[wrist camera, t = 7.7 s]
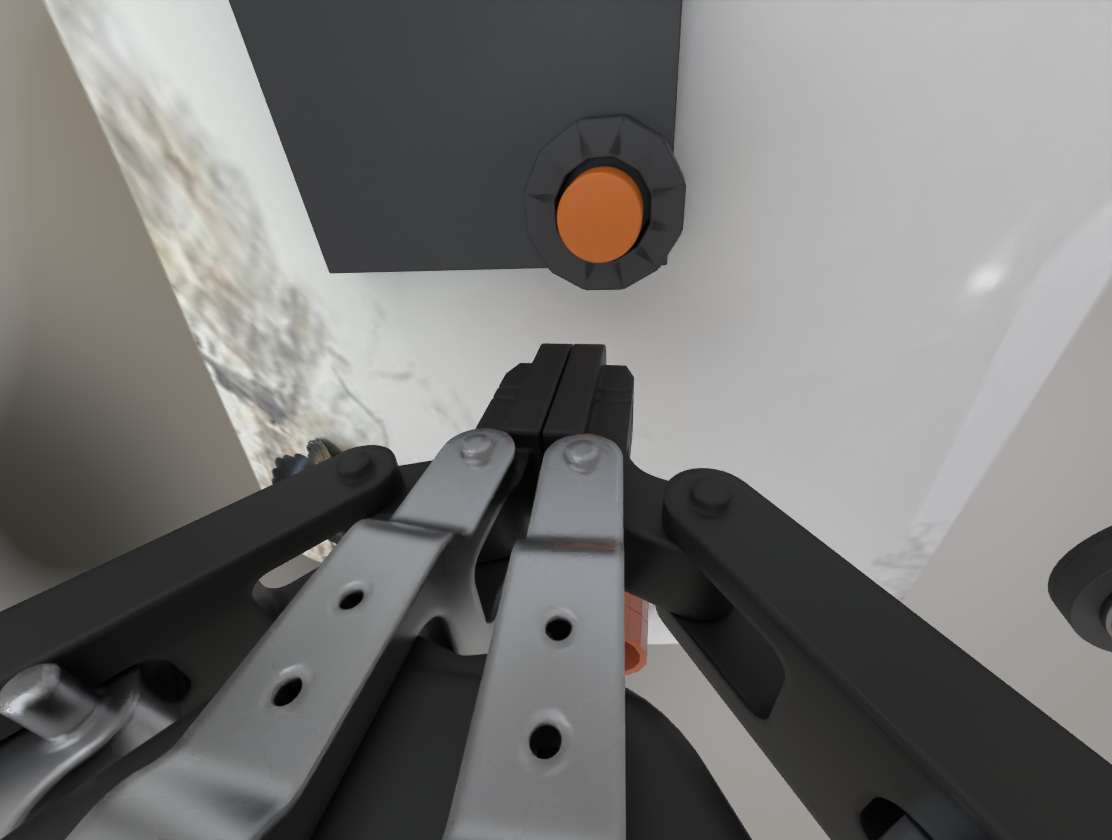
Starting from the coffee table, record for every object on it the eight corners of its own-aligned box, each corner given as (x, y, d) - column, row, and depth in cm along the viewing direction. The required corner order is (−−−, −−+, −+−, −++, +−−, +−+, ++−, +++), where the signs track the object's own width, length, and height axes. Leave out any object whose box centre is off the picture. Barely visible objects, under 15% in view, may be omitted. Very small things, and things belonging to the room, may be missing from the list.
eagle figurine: (436, 464, 30) (289, 420, 28) (399, 576, 28) (236, 539, 25) (427, 476, 37) (309, 442, 35) (397, 567, 35) (269, 537, 32)
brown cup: (649, 572, 34) (648, 636, 30) (646, 618, 38) (645, 681, 34) (568, 563, 35) (556, 624, 32) (572, 609, 39) (562, 669, 35)
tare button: (644, 162, 16) (643, 169, 15) (642, 249, 18) (640, 262, 17) (560, 168, 17) (553, 174, 15) (566, 252, 18) (559, 264, 17)
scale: (712, -274, 12) (727, -374, 10) (676, 261, 21) (678, 289, 18) (210, -152, 16) (114, -202, 13) (353, 270, 24) (313, 294, 21)
